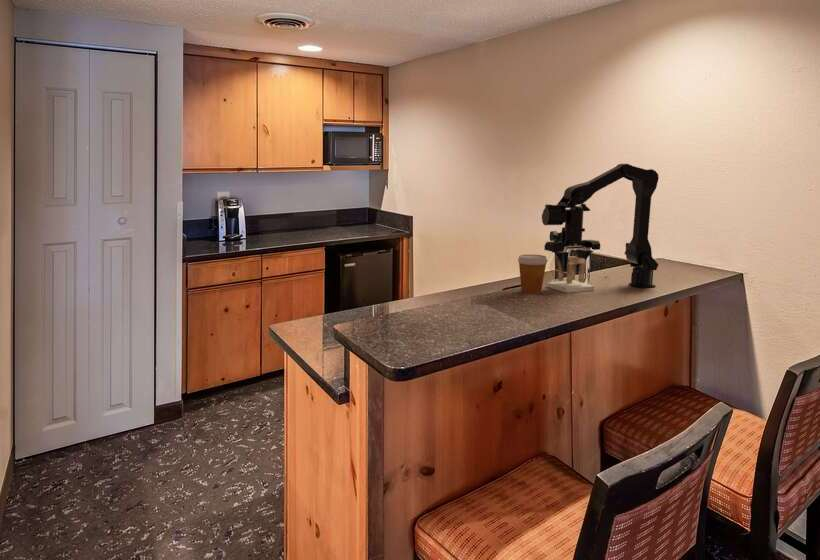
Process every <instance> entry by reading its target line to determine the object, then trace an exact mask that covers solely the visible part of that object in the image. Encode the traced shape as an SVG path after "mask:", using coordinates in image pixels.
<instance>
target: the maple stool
mask: <svg viewBox="0 0 820 560" xmlns="http://www.w3.org/2000/svg"><path fill="white" fill-rule="evenodd" d="M577 264H580V265H579V271H578V282H580V283H585V281H584V280H585V269H586V267H585V265H586V261H585V259H584V258H579V257H577V256H574V255H572V256H571V255H570V256H568V261H567V267H566V271H567V272H566V281H567V283H572V280H575V281H576V270H577ZM564 273H565V272H563V271H562V268H561V265H560V262H559V261H558V274H557V275H558V276H557V281H564Z"/></svg>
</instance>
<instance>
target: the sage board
mask: <svg viewBox="0 0 820 560" xmlns="http://www.w3.org/2000/svg"><path fill="white" fill-rule="evenodd" d="M546 287H547V288H550V289H553V290H557V291H559V292H563V293H565V294H567V293H580V292H591V291H593V292H594V291H595V285H592V284H588V283H585V282H582V283H580V282H579V280H576V279H575V280H572V283H567V280H563V281H559V280H557V281H549V282H547V283H546Z"/></svg>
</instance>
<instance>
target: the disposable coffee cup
mask: <svg viewBox="0 0 820 560" xmlns="http://www.w3.org/2000/svg"><path fill="white" fill-rule="evenodd" d="M517 261H518V266H519V268H518V269H519V279H520V289H521V293H522V294H525V295H541V293H542V291H543V290H542V289H543V284H544V279H545V278H544V277H545V272H546V265H547V264H548V263H547V262H548V258H547V256H546V255H544V254H543V255H542V254H532V253H531V254H521V255H519V257H518V258H517Z"/></svg>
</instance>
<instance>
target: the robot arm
mask: <svg viewBox="0 0 820 560" xmlns="http://www.w3.org/2000/svg"><path fill="white" fill-rule="evenodd" d="M623 178H624V179H626V180H628V181H631V183H632V184H631V185H632V190H633V192H634V195H635V205H634V217H633V229H632V238H631V240H630V242H626V243H625V251H624V255H625V257H626V260H627V261H628V262H629V266H630V267H631V268H632V272H631V276H630V277H631V278H630V279H631V280H630V282H629V283H628V285H629V286H632V287H636V288H640V289H642V288H643V289H644V288H655V287H656V285H655V284H653V280H654V279H653V278H654V271H657V269H658V267H659V263H658V262H657V260H655V259H654V257H653V255H652V253H653V252H652V246H651V244H650V241H649V230H650V229H649V228H650V217H651V216H650V215H651V207H652V206H651V204H652V197H653V194H654V192H656V189H657V186H658V182H659V173H658V172H657V171H656V170H655V169H652V168H641V167H637V166H634V165H631V164H629V163H619V164H617V165H616V166H614V167H613V168H610V169H609V170H607V171H605V172H603V173H601V174H599V175H597V176H596V177H594V178H592V179H590V180H588V181H586V182H582V183H577V184H574V185H570V186H568V187H567V188H566V189H565V190H564V193H563V196H562V198H561V199H560V200H559V201H558V202H557V204H548V203H547V204H545V205H544V209H543V211H542V213H541V221H542V224H543V226H562V225H563V224H564V227H562V228H561V232H557V230H553V231H549V241H546V242H545V244H544V248H543V250H544V251H548V252H552V253H554V254H555V255H556V256H557V259H558V263H559V262H560V265H561V268H562V271H563V272H564V273H565V272H566V271H567V266H568V264H567V261H568V257H569V251H567V249H575V251H576V253H577V254H576V255H577V256H576V257H579V258H584V259H585V262H586V261H587V259H588V258H589V257H590V255H591V254H592V253H594V251H596V250H597V251H598V250H601V246H602V245H601V243H600V241H599V240H595V239H583V232H586V228H584V225H583V224H584V212H590V211H591V209H590V208H589V207H588V206H587V205H586V203H585V202H587V201H588V200H590V199H591V198H592V196H594V194H595V193H597V192H598V191H600V190H602V189H604V188H606V187H608V186H609V185H612V184H613V183H615V182H617V181H619V180H620V179H623ZM579 265H580V264H576V270H577V271H578V272H579Z"/></svg>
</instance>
